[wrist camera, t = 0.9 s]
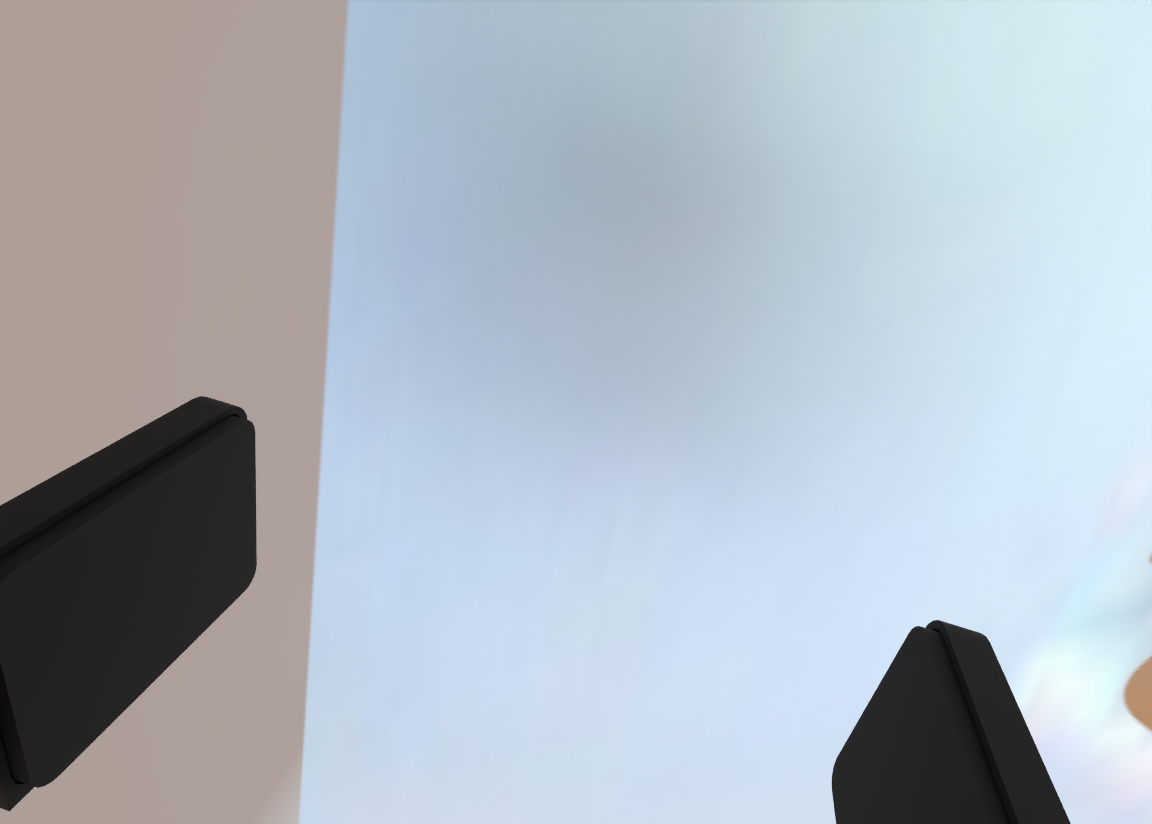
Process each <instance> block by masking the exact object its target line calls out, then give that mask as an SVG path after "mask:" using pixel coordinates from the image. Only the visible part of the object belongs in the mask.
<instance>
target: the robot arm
mask: <svg viewBox="0 0 1152 824" xmlns="http://www.w3.org/2000/svg"><path fill="white" fill-rule="evenodd" d="M255 470H256V468H255V428H254V425H253V423H252V422H250V421H249V420H247V415H246V413H245V412H244V410H243V409H242V408H240V407H237V406H234V405H231V404H228V403H224V402H221V401H218V400H215V399H211V398H208V397H202V396H201V397H197V398H194V399H192V400H190V401H189V402H187V403H185V404H183V405H181V406H180V407H178V408H176V409H174V410H172V411H171V412H169V413H167V414H165V415H163V416H162V417H160V418H158V419H156V420H154V421H152V422H151V423H149V424H147V425H145V426H143V427H142V428H140V429H138V430H136V431H135V432H133V433H131V434H129V435H127V436H125V437H124V438H122V439H120V440H118V441H116V442H115V443H113V444H111V445H109V446H107V447H106V448H104V449H102V450H100V451H98V452H96V453H95V454H93V455H91V456H89V457H87V458H86V459H84V460H82V461H80V462H79V463H77V464H75V465H73V466H71V467H69V468H67V469H66V470H64V471H62V472H60V473H58V474H57V475H55V476H53V477H51V478H49V479H48V480H46V481H44V482H42V483H40V484H39V485H37V486H35V487H33V488H31V489H30V490H28V491H26V492H24V493H22V494H21V495H19V496H17V497H15V498H13V499H11V500H10V501H8V502H6V503H4V504H2V505H1V506H0V808H2V809H5V810H8V811H10V810H11V809H12V808H13V807H14V806H15V805H16V804H17V803H18V802H19V801H20V800H21V799H22V798H23V797H25V795H26V794H28V793H29V792H30V791H31V790H32V789H33V788H34V787H42V786H45V785H47V784H49V783H50V782H52V781H53V780H54V779H55V778H57V777H58V776H59V775H60V774H61V773H62V772H63V771H64V770H65V769H66V768H67V767H68V766H69V765H70V764H71V763H72V762H73V761H74V760H75V759H76V758H77V757H78V756H79V755H80V754H81V753H82V752H83V751H84V750H85V749H86V748H87V747H88V746H89V745H90V744H91V743H92V742H93V741H94V740H95V739H96V738H97V737H98V736H99V735H100V734H101V733H102V732H103V731H104V730H105V729H106V728H107V727H108V726H109V725H110V724H111V723H112V722H113V721H114V720H115V719H116V718H117V717H118V716H119V715H120V714H122V712H123V711H124V710H126V708H128V707H129V705H131V704H132V702H134V701H135V700H136V699H137V698H138V697H139V695H141V694H142V693H143V692H144V691H145V690H146V689H147V688H148V686H150V685H151V684H152V683H153V682H154V681H155V680H156V679H157V678H158V677H159V676H160V675H161V674H162V673H163V672H164V671H165V670H166V669H167V668H168V667H169V666H170V665H171V664H172V663H173V662H174V661H175V660H176V659H177V658H178V657H179V656H180V655H181V654H182V653H183V652H184V651H185V650H186V649H187V648H188V647H189V646H190V645H191V644H192V643H193V642H194V641H195V640H196V639H197V638H198V637H199V636H200V635H201V634H202V633H203V632H204V631H205V630H206V629H207V628H208V627H209V626H210V625H211V624H212V623H213V622H214V621H215V620H216V619H217V618H218V617H219V616H220V615H221V614H222V613H223V612H224V611H225V610H226V609H227V608H228V607H229V606H230V605H231V604H232V603H233V602H234V601H235V600H236V599H237V598H238V597H239V596H240V595H241V594H242V593H243V592H244V591H245V590H246V589H247V588H248V586H249V585H250V583H251V581H252V579H253V577H254V575H255V571H256V564H257V562H256V471H255ZM832 793H833V801H834V809H835V817H836V824H1070V821H1069V819H1068V817H1067V815H1066V812H1065V810H1064V808H1063V806H1062V803H1061V801H1060V799H1059V797H1058V794H1057V792H1056V790H1055V788H1054V785H1053V783H1052V781H1051V779H1050V776H1049V774H1048V772H1047V770H1046V767H1045V765H1044V763H1043V761H1042V758H1041V756H1040V754H1039V752H1038V750H1037V747H1036V745H1035V743H1034V741H1033V738H1032V736H1031V734H1030V732H1029V729H1028V727H1027V725H1026V723H1025V720H1024V718H1023V716H1022V714H1021V711H1020V709H1019V707H1018V705H1017V702H1016V700H1015V698H1014V696H1013V693H1012V691H1011V689H1010V687H1009V684H1008V682H1007V680H1006V678H1005V675H1004V673H1003V671H1002V669H1001V666H1000V664H999V662H998V660H997V657H996V655H995V653H994V651H993V648H992V646H991V644H990V642H989V640H988V639H987V637H986V636H985V635H983V634H981V633H978V632H975V631H972V630H969V629H965V628H962V627H959V626H956V625H952V624H949V623H946V622H942V621H939V620H935V621H932V622H931V623H929V624H928V625H927V627H926V628H923V627H920V626H916V627H914V628H913V629H912V630H911V631H910V633H909V634H908V636H907V638H906V639H905V641H904V643H903V644H902V646H901V648H900V650H899V651H898V653H897V655H896V657H895V658H894V660H893V662H892V664H891V665H890V667H889V669H888V670H887V672H886V674H885V676H884V677H883V679H882V681H881V683H880V684H879V686H878V688H877V689H876V691H875V693H874V695H873V696H872V698H871V700H870V702H869V703H868V705H867V707H866V709H865V710H864V712H863V714H862V715H861V717H860V719H859V721H858V722H857V724H856V726H855V728H854V729H853V731H852V733H851V735H850V736H849V738H848V740H847V741H846V743H845V745H844V747H843V748H842V750H841V752H840V754H839V755H838V757H837V759H836V762H835V765H834V768H833V774H832Z"/></svg>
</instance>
